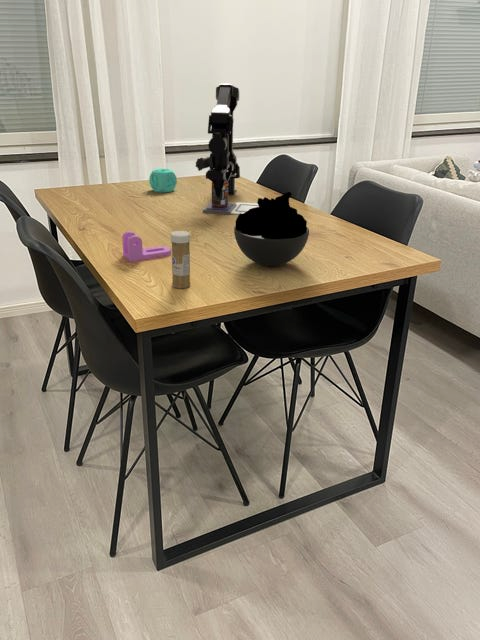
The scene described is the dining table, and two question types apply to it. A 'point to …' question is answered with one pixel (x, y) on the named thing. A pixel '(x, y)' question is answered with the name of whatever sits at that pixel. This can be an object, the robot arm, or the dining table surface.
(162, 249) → the bracket
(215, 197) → the supplement bottle
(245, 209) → the form board
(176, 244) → the sprinkles bottle
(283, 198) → the coal bowl
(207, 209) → the ink pad
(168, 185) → the decorative dice
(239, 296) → the dining table surface
